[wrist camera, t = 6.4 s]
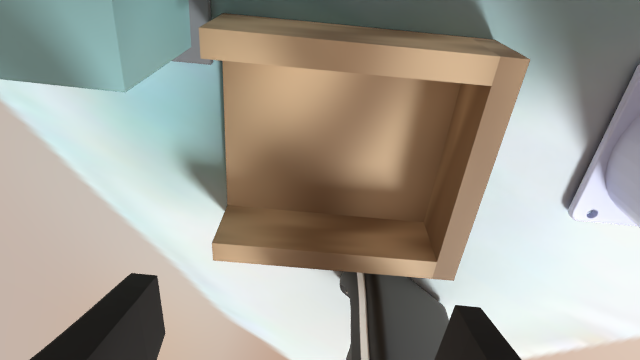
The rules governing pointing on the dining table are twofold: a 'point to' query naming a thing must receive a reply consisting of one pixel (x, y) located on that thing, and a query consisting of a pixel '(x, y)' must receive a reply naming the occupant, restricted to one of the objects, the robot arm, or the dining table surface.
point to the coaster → (196, 31)
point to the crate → (356, 142)
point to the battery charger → (392, 318)
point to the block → (90, 41)
